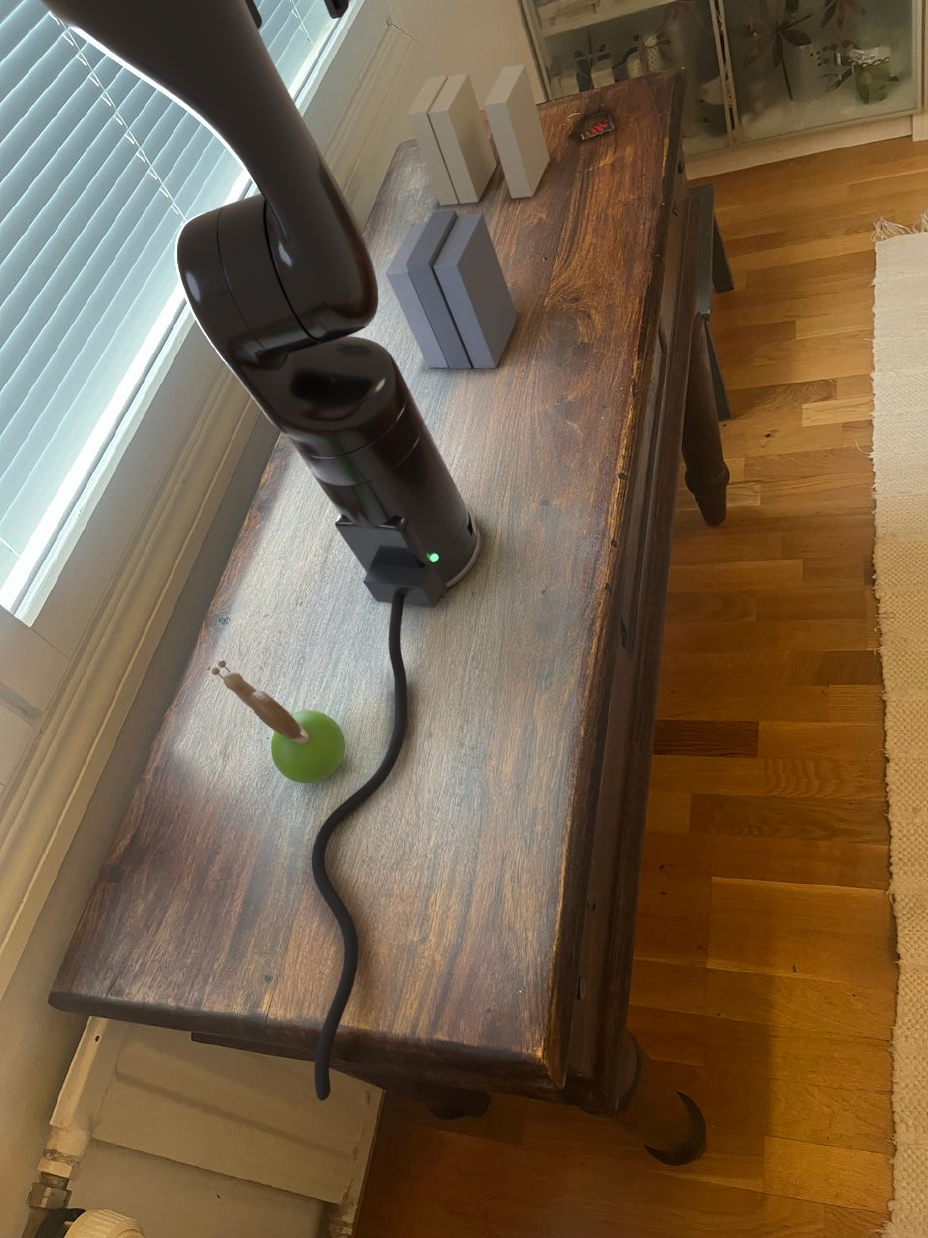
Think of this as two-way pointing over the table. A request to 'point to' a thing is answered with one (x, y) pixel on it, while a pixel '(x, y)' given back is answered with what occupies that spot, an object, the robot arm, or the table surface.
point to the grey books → (453, 291)
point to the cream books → (452, 139)
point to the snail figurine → (293, 733)
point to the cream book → (517, 131)
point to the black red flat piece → (599, 128)
